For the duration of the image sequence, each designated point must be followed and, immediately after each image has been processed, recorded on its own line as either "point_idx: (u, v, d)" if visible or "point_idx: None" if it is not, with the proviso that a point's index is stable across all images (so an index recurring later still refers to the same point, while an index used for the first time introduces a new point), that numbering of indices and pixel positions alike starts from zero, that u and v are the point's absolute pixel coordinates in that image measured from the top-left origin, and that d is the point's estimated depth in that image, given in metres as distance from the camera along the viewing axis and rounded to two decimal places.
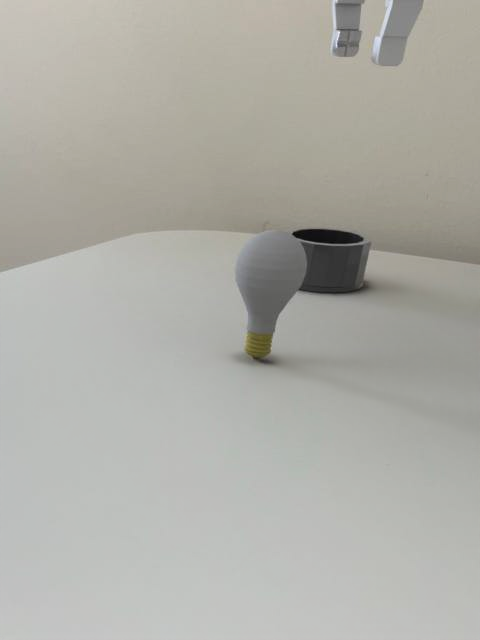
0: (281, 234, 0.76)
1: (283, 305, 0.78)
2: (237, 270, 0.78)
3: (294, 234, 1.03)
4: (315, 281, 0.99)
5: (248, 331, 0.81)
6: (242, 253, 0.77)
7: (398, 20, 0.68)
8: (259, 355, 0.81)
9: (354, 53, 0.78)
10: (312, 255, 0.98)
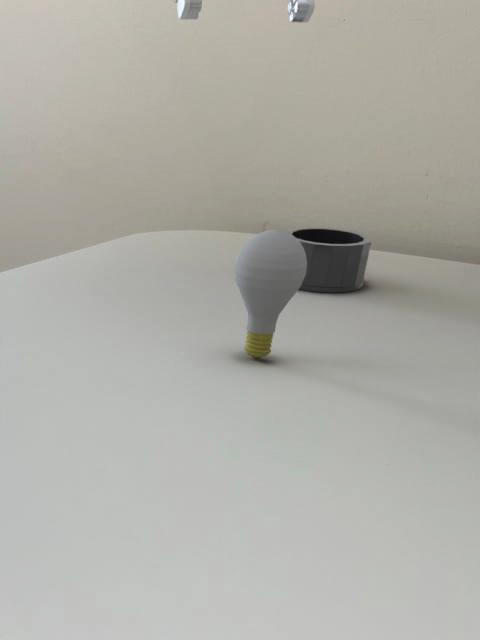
0: (281, 234, 0.76)
1: (283, 305, 0.78)
2: (237, 270, 0.78)
3: (294, 234, 1.03)
4: (315, 281, 0.99)
5: (248, 331, 0.81)
6: (242, 253, 0.77)
7: None
8: (259, 355, 0.81)
9: (296, 7, 0.81)
10: (312, 255, 0.98)
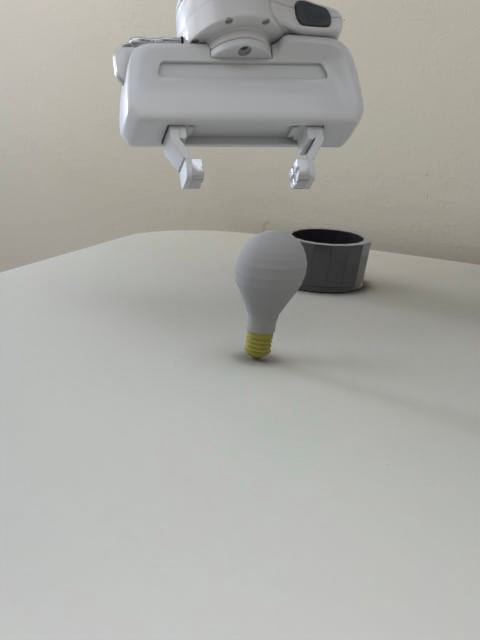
0: (281, 234, 0.76)
1: (283, 305, 0.78)
2: (237, 270, 0.78)
3: (294, 234, 1.03)
4: (315, 281, 0.99)
5: (248, 331, 0.81)
6: (242, 253, 0.77)
7: (172, 156, 0.82)
8: (259, 355, 0.81)
9: (297, 177, 0.82)
10: (312, 255, 0.98)
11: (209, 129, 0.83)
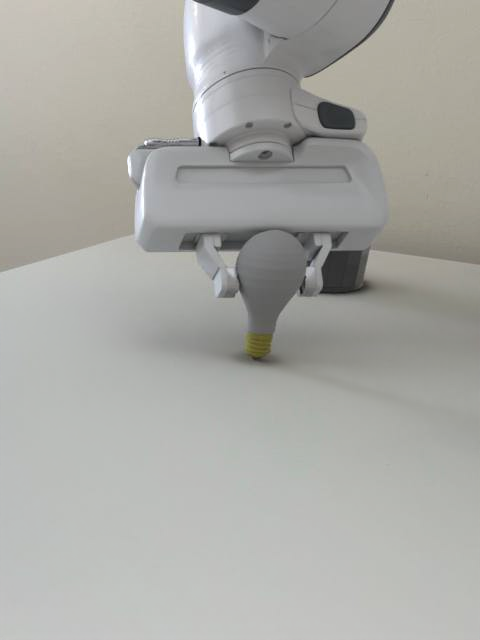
0: (281, 234, 0.76)
1: (283, 305, 0.78)
2: None
3: None
4: None
5: (248, 331, 0.81)
6: (242, 253, 0.77)
7: (205, 264, 0.79)
8: (259, 355, 0.81)
9: (304, 286, 0.78)
10: None
11: (228, 234, 0.80)
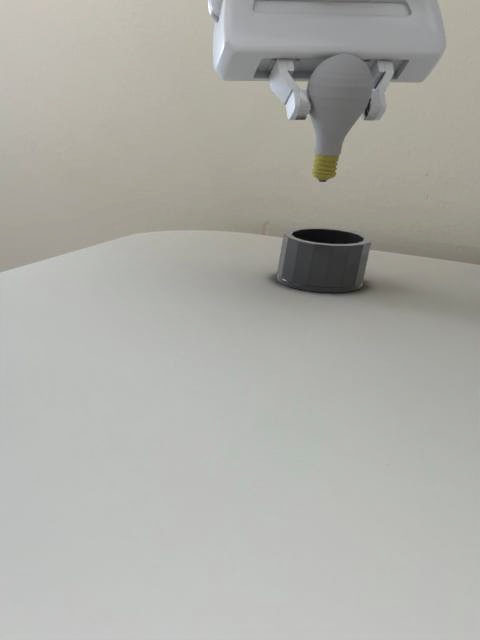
0: (350, 56, 0.84)
1: (350, 126, 0.86)
2: None
3: (294, 234, 1.03)
4: (315, 281, 0.99)
5: (316, 154, 0.88)
6: (314, 75, 0.85)
7: (279, 89, 0.87)
8: (326, 176, 0.89)
9: (369, 108, 0.86)
10: (312, 255, 0.98)
11: (299, 63, 0.87)
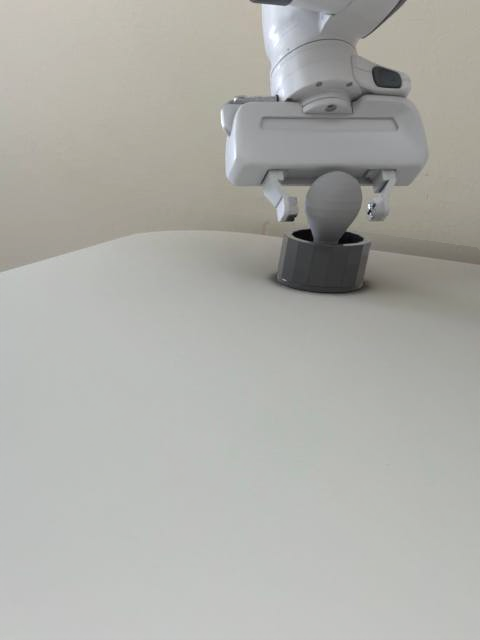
0: (343, 174, 0.97)
1: (343, 231, 0.99)
2: (307, 203, 0.99)
3: (294, 234, 1.03)
4: (315, 281, 0.99)
5: None
6: (311, 189, 0.98)
7: (270, 195, 0.99)
8: None
9: (374, 212, 0.99)
10: (312, 255, 0.98)
11: (300, 172, 1.00)
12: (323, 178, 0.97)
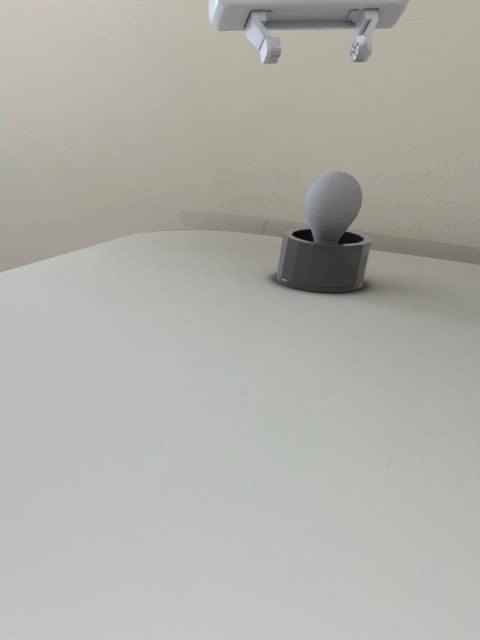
0: (343, 174, 0.97)
1: (343, 231, 0.99)
2: (307, 203, 0.99)
3: (294, 234, 1.03)
4: (315, 281, 0.99)
5: None
6: (311, 189, 0.98)
7: (253, 37, 1.00)
8: None
9: (357, 51, 1.00)
10: (312, 255, 0.98)
11: (283, 14, 1.01)
12: (323, 178, 0.97)
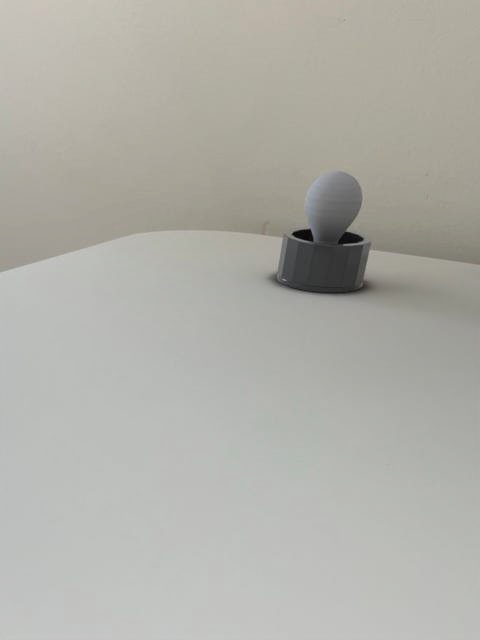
0: (343, 174, 0.97)
1: (343, 231, 0.99)
2: (307, 203, 0.99)
3: (294, 234, 1.03)
4: (315, 281, 0.99)
5: None
6: (311, 189, 0.98)
7: None
8: None
9: None
10: (312, 255, 0.98)
11: None
12: (323, 178, 0.97)
